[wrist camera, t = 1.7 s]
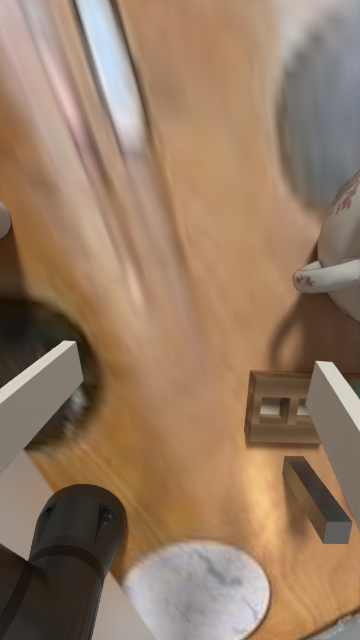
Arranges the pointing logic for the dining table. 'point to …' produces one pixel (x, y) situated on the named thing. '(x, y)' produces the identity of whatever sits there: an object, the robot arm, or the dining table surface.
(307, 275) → the chamber pot
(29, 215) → the dining table surface
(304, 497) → the pin
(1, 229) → the coffee cup
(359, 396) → the block
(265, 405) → the build board
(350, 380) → the board
